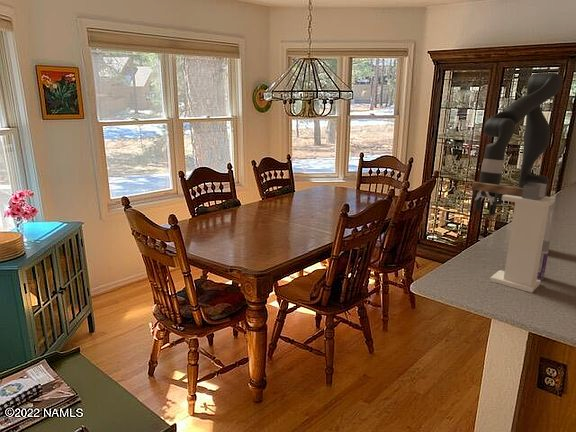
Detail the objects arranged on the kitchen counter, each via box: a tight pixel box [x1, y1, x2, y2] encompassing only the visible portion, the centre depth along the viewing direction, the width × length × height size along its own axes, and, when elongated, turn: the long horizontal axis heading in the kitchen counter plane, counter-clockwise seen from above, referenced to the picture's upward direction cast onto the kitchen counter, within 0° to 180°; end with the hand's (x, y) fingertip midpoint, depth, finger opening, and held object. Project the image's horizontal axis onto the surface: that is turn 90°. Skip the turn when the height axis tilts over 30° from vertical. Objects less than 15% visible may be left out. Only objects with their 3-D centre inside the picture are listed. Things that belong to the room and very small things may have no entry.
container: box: [537, 237, 551, 281], centre depth 159 cm, size 5×5×15 cm
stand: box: [489, 194, 556, 293], centre depth 152 cm, size 14×10×32 cm
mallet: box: [471, 181, 547, 201], centre depth 152 cm, size 23×8×4 cm, turn 47°
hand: (484, 212), depth 168 cm, fingers open, 8 cm apart
